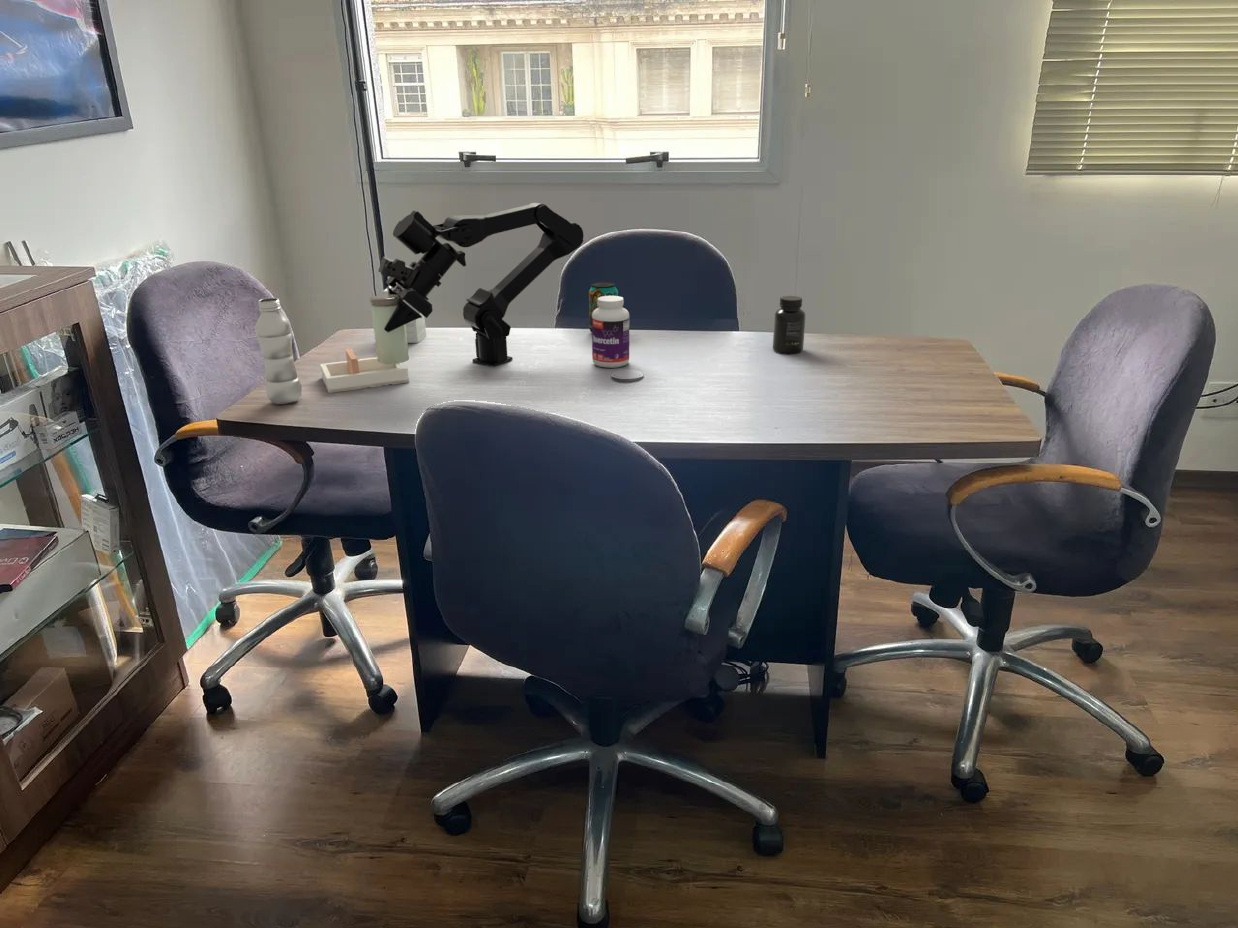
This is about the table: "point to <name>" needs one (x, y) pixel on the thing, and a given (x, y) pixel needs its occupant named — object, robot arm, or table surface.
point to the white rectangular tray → (362, 375)
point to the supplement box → (414, 327)
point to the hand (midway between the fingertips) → (382, 327)
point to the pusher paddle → (352, 362)
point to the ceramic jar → (388, 343)
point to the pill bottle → (610, 333)
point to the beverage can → (599, 295)
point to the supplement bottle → (789, 326)
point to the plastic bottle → (277, 353)
